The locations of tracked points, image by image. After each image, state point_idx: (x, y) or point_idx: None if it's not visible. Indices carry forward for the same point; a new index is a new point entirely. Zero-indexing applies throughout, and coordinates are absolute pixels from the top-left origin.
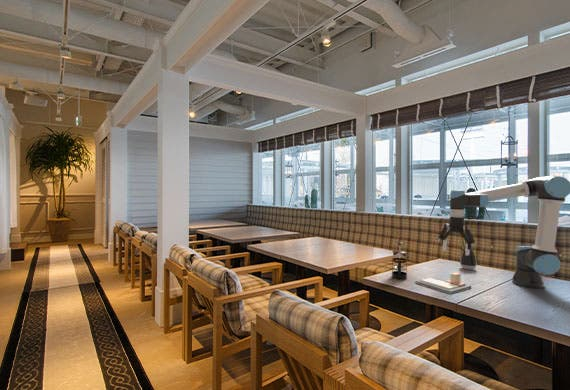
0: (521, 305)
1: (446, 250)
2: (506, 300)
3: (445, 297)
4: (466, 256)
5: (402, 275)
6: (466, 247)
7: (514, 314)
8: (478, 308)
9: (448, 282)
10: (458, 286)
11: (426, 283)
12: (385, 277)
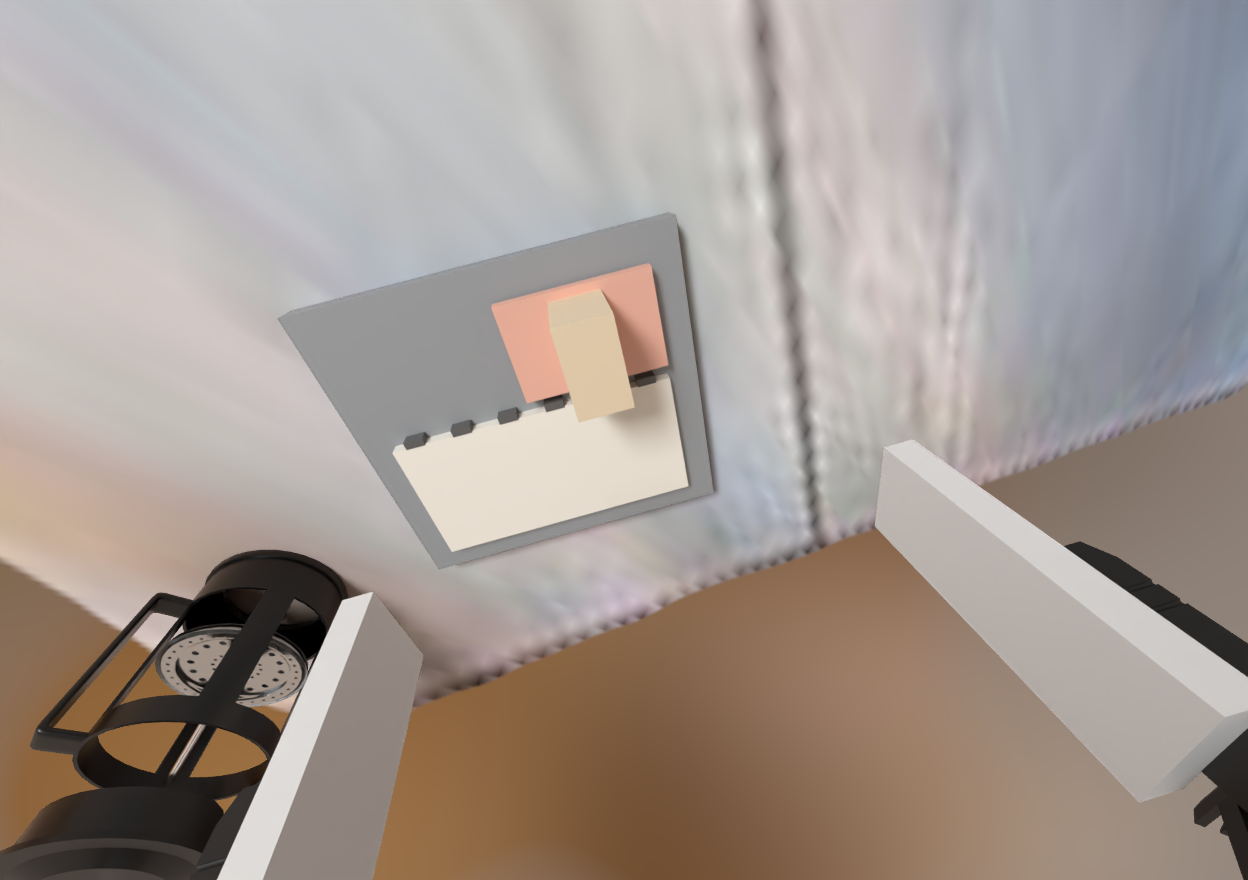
0: (1086, 196)
1: (377, 601)
2: (985, 204)
3: (734, 539)
4: None
5: (330, 626)
6: (1043, 671)
7: (1064, 390)
8: None
9: (560, 391)
10: (669, 381)
11: (515, 537)
12: None
